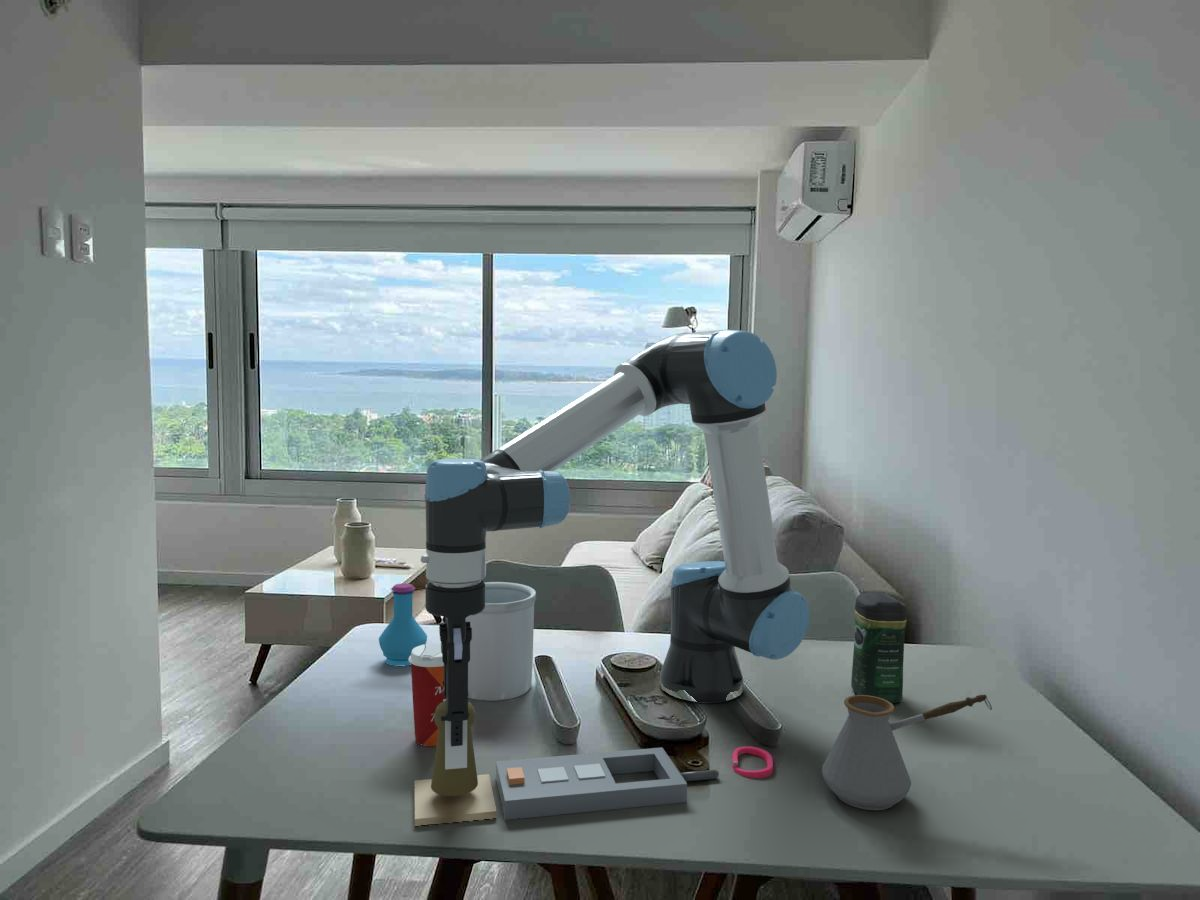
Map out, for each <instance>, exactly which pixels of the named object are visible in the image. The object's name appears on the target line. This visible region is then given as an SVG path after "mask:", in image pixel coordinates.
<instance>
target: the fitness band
mask: <svg viewBox="0 0 1200 900" xmlns="http://www.w3.org/2000/svg"><path fill="white" fill-rule="evenodd" d="M741 754H749V755H754V756H757V757H760V758H762V759H764V760H765V762H766V767H765V768H762V769H758V770H757V769H756V770H747V769H746V770H745V769H742V768H740V767H739V759H738V757H739V755H741ZM731 764H732V769H733V771H734V772H735V773H737V775H739V776H743V777H746V778H752V779H763V778H768V777H769V776H771V775H772V774H773V771H774V761H773V756H772V755H771V754H770V753H769V752H768V751H767V750H765V749H763V748H760V747H757V746H756V747H755V746H747V745H746V746H739V747H736V748H735V749H734V750H733V752H732V762H731Z"/></svg>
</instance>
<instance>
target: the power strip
mask: <svg viewBox="0 0 1200 900" xmlns="http://www.w3.org/2000/svg"><path fill="white" fill-rule="evenodd" d="M644 772H654V774H655V775H656V777H657V778H658V779H652V780H643V781H642V780H640V781H632V782H631V781H630V782H620V783H619V782H618V783H617V782H616V781H615V779H614V777H613V775H622V774H630V773H631V774H633V773H644ZM719 777H720V773H719V771H718V770H717V769H707V770H695V771H685V772H680V770H679V769H678V768H677V767H676V765H675V763H674V762H673V761H672V759H671V758H670V756H669V755H668V754H667V752H666V751H665V749H664V748H663V747H652V748H640V749H639V748H638V749H627V750H626V749H625V750H616V751H604V752H592V753H591V752H590V753H581V754H580V753H579V754H570V755H569V754H568V755H557V756H556V755H555V756H543V757H532V758H530V757H529V758H520V759H506V760H497V761H495V781H496V786H497V789H498V795H499V799H501V800H500V804H502V805H501V809H503V810H502V813H504V814H503V818H504V819H503V820H504V821H509V820H510V819H511V820H518V818H520V819H528V818H537V817H538V818H541V817H549V816H560V815H568V814H569V815H571V814H581V813H588V812H589V813H590V812H600V811H608V810H609V811H611V810H620V809H630V808H639V807H650V806H661V805H669V804H670V805H671V804H680V803H687V799H688V783H687V782H696V781H706V780H707V781H708V780H716V779H718V778H719Z"/></svg>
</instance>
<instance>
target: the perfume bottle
mask: <svg viewBox="0 0 1200 900" xmlns="http://www.w3.org/2000/svg"><path fill="white" fill-rule="evenodd" d="M414 590H416V587H415V586H414V585H413V584H411V583H405V582H404V583H396V584H394V585H393V586H392V587H391V589H390V591H392V595H393V618H392V619H391V620H390V622H389V623H388V625H387V626H386V627H385V629H384V630H383V631H382V633H381V634H380V636H378V642H379V648H380V650H381V652H382V654H383V655H382V656H384V657H385V658H386V659H385V663H386V662H387V663H388V664H391V665H410V664H411V663H410V662H409V657H410V656H411V652H412V650H413V649H414V648H415V647H417V646H420V645H424V644H427V640H428V635H427V633H426V632H425V630H424V629H423V627H422V626H420V624H419V623H418V621H417V620H416V619H415V618H414V616H413V598H414V597H413V596H414ZM388 664H387V665H388Z"/></svg>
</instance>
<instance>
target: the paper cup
mask: <svg viewBox="0 0 1200 900" xmlns="http://www.w3.org/2000/svg"><path fill="white" fill-rule="evenodd" d="M409 662H410V663H411V666H410V673H411V690H412V709H413V725H414V727H413V728H414V737H415V743H416V744H417V743H419V744H422V745H425V746H424V747H426V746H437V738H438V731H439V729H438V727H437V726H436V724H435V720H434V715H435V711H436V708H437V706H438V705H439V704H440V703H442V702H443V699H447V697H444V695H443V691H444V686H443V680H444V663H443V661H442V653H441V642H437V643H436V642H435V643H434V642H433V643H432V642H431V643H426V644H424V645H420V646H417V647H415V648H414V649H413V650H412V652H411V656H410V657H409ZM419 744H418V745H419Z"/></svg>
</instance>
